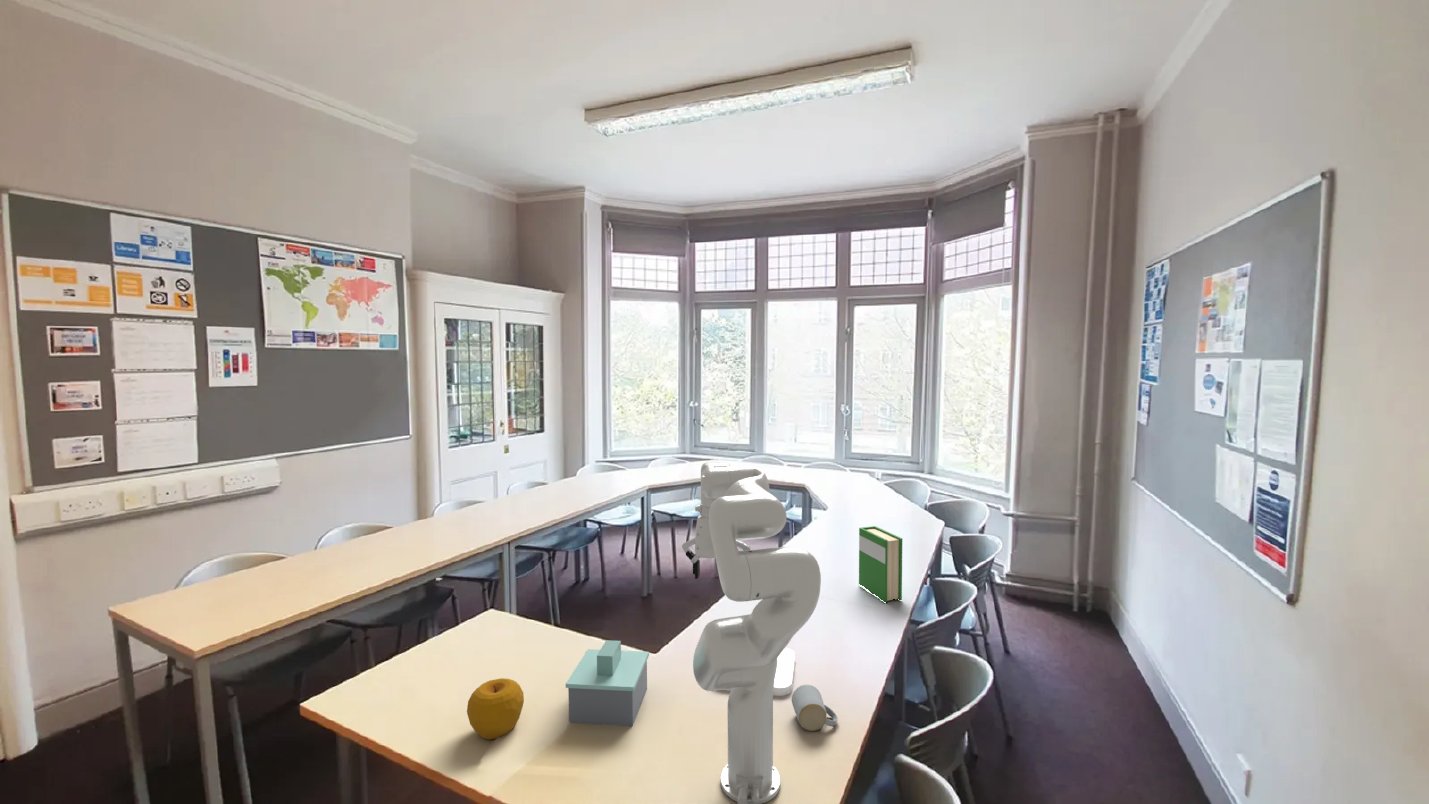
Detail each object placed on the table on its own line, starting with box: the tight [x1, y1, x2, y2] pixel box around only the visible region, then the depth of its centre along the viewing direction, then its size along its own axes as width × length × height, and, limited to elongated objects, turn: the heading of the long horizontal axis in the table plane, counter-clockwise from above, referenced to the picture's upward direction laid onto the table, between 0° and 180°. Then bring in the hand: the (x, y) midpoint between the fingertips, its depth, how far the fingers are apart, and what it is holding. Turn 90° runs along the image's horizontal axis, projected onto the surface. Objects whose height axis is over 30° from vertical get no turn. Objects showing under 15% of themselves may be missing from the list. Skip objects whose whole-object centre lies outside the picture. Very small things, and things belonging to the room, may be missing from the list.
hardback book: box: [858, 525, 903, 603], centre depth 216 cm, size 18×7×24 cm, turn 18°
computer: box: [722, 647, 796, 697], centre depth 161 cm, size 22×22×3 cm
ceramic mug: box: [791, 684, 838, 732], centre depth 137 cm, size 11×8×8 cm
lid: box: [565, 639, 650, 691], centre depth 143 cm, size 17×17×8 cm
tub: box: [567, 660, 648, 727], centre depth 143 cm, size 16×16×10 cm
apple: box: [466, 677, 525, 741], centre depth 135 cm, size 13×13×11 cm
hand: (716, 578), depth 140 cm, fingers open, 9 cm apart
